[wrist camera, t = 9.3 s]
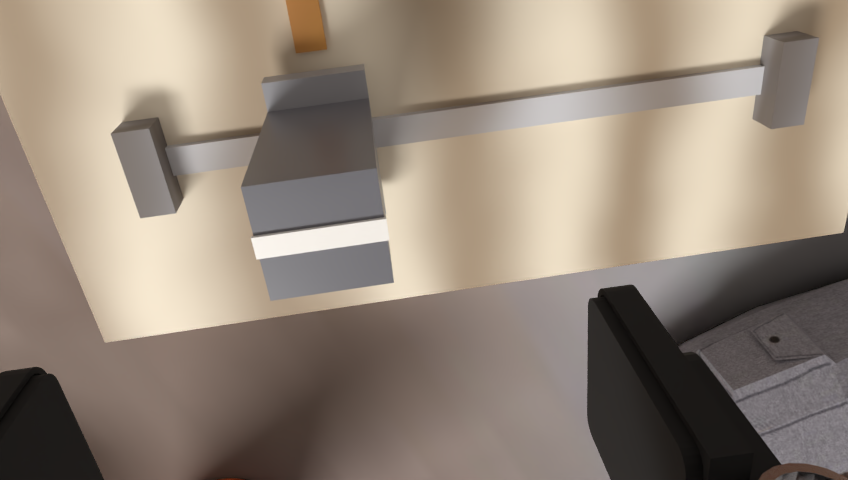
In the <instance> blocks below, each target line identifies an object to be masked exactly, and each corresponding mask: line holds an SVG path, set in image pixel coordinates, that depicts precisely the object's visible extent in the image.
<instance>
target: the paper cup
mask: <svg viewBox="0 0 848 480" xmlns="http://www.w3.org/2000/svg"><path fill="white" fill-rule="evenodd" d="M217 480H244V479H236V478H226V479H217Z"/></svg>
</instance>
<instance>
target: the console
mask: <svg viewBox="0 0 848 480" xmlns="http://www.w3.org/2000/svg"><path fill="white" fill-rule="evenodd" d="M360 64H364V68H365V75H366V81H367V88H368V95H369V101H370V108H371V115H372V121H373V128H374V135H375V141H376V148H377V155H378V161H379V168H380V175H381V181H382V188H383V195H384V201H385V209H386V219H387V226H388V233H389V246H390V254H391V262H392V270H393V278H394V283H389V284H382V285H375V286H369V287H362V288H355V289H348V290H342V291H335V292H328V293H321V294H315V295H308V296H301V297H294V298H287V299H281V300H274V301H270V297H269V293H268V290H267V286H266V282H265V278H264V274H263V271H262V267H261V263H260V259H257V260H256V256H255V252H254V248H253V244H252V241H251V236H253V232H252V229H251V225H250V221H249V217H248V213H247V210H246V206H245V202H244V198H243V194H242V191H241V185H242V182H243V179H244V176H245V174H246V171H247V168H248V165H249V163H250V160H251V157H252V154H253V151H254V149H255V146H256V143H257V140H258V137H259V135H260V132H261V129H262V126H263V123H264V121H265V118H266V115H267V112H268V111H267V107H266V103H265V98H264V94H263V89H262V85H261V83H262V81H263V78H264V77H270V76H277V75H285V74H292V73H300V72H307V71H315V70H322V69H330V68H337V67H345V66H352V65H360ZM0 95H1V97H2V100H3V102H4V104H5V107H6V109H7V112H8V114H9V116H10V119H11V121H12V123H13V126H14V128H15V130H16V133H17V135H18V138H19V140H20V142H21V145H22V147H23V149H24V152H25V154H26V157H27V159H28V161H29V164H30V166H31V168H32V171H33V173H34V175H35V178H36V180H37V183H38V185H39V187H40V190H41V192H42V194H43V197H44V199H45V202H46V204H47V206H48V209H49V211H50V213H51V216H52V218H53V221H54V223H55V225H56V228H57V230H58V232H59V235H60V237H61V239H62V242H63V244H64V247H65V249H66V251H67V254H68V256H69V258H70V261H71V263H72V266H73V268H74V270H75V273H76V275H77V277H78V280H79V282H80V284H81V287H82V289H83V292H84V294H85V296H86V299H87V301H88V303H89V306H90V308H91V311H92V313H93V315H94V318H95V320H96V322H97V325H98V327H99V330H100V332H101V334H102V337H103V339H104V341H105V343H106V342H112V341H119V340H126V339H133V338H139V337H146V336H153V335H159V334H166V333H173V332H180V331H186V330H193V329H200V328H206V327H213V326H220V325H227V324H233V323H240V322H247V321H253V320H260V319H267V318H274V317H280V316H287V315H294V314H301V313H307V312H314V311H321V310H327V309H334V308H341V307H348V306H354V305H361V304H368V303H374V302H381V301H388V300H395V299H401V298H408V297H415V296H421V295H428V294H435V293H442V292H448V291H455V290H462V289H469V288H475V287H482V286H489V285H495V284H502V283H509V282H516V281H522V280H529V279H536V278H542V277H549V276H556V275H563V274H569V273H576V272H583V271H589V270H596V269H603V268H610V267H616V266H623V265H630V264H637V263H643V262H650V261H657V260H663V259H670V258H677V257H684V256H690V255H697V254H704V253H710V252H717V251H724V250H731V249H737V248H744V247H751V246H757V245H764V244H771V243H778V242H784V241H791V240H798V239H805V238H811V237H818V236H825V235H831V234H838V233H843V232H844V228H845V223H846V219H847V215H848V0H0Z"/></svg>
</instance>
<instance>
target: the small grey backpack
mask: <svg viewBox="0 0 848 480" xmlns="http://www.w3.org/2000/svg"><path fill="white" fill-rule="evenodd" d="M678 347H679V349H680V350H681V351H682V353H685V352H694V353H697V354H698V355H699V356H700V357H701V358H702V359H703V361H704V362H705V363H706V365H707V366H708V367H709V369H710V370H711V371H712V373H713V374H714V375H715V377H716V378H717V379H718V381H719V382H720V383H721V385H722V386H723V387H724V389H725V390H726V391H727V393H728V394H729V395H730V397H731V398H732V399H733V401H734V402H735V403H736V405H737V406H738V407H739V409H740V410H741V411H742V413H743V414H744V415H745V417H746V418H747V419H748V421H749V422H750V423H751V425H752V426H753V427H754V429H755V430H756V431H757V433H758V434H759V435H760V437H761V438H762V439H763V440H764V442H765V443H766V444H767V446H768V447H769V448H770V450H771V451H772V452H773V454H774V455H775V456H776V458H777V459H778V460H779V462H780V463H781V464H782V465H783V464H787V463H804V464H811V465H815V466H819V467H824V468H827V469H829V470H832V471H834V472H836V473H838V474H841V475H843V476H845V477H847V478H848V279H846V280H843V281H839V282H836V283H833V284H830V285H827V286H823V287H820V288H817V289H814V290H810V291H807V292H804V293H801V294H798V295H794V296H791V297H788V298H785V299H781V300H778V301H775V302H772V303H769V304H765V305H762V306H759V307H756V308H754V309H752V310H749V311H747V312H745V313H743V314H741V315H739V316H737V317H735V318H733V319H731V320H729V321H727V322H725V323H723V324H721V325H719V326H717V327H715V328H713V329H711V330H708V331H706V332H704V333H702V334H700V335H698V336H696V337H694V338H692V339H690V340H688V341H686V342H684V343H682V344H680V345H679V346H678Z"/></svg>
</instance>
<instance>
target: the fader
mask: <svg viewBox="0 0 848 480" xmlns="http://www.w3.org/2000/svg"><path fill="white" fill-rule="evenodd" d="M261 85H262V89H263V94H264V98H265V103H266V107H267V111H268V112H267V115H266V118H265V121H264V123H263V126H262V129H261V132H260V135H259V137H258V140H257V143H256V146H255V149H254V151H253V154H252V157H251V160H250V163H249V165H248V168H247V171H246V174H245V176H244V179H243V182H242V185H241V191H242V194H243V198H244V202H245V206H246V210H247V213H248V217H249V221H250V225H251V229H252V232H253V236H251V241H252V244H253V248H254V252H255V256H256V260H257V259H260V263H261V267H262V271H263V274H264V278H265V282H266V286H267V290H268V293H269V297H270V301H274V300H281V299H287V298H294V297H301V296H308V295H315V294H321V293H328V292H335V291H342V290H348V289H355V288H362V287H369V286H375V285H382V284H389V283H394V278H393V270H392V262H391V254H390V246H389V233H388V226H387V219H386V209H385V201H384V195H383V188H382V181H381V175H380V168H379V161H378V155H377V148H376V141H375V135H374V128H373V121H372V115H371V108H370V101H369V95H368V88H367V81H366V75H365V68H364V64H360V65H352V66H345V67H337V68H330V69H322V70H315V71H307V72H300V73H292V74H285V75H277V76H270V77H264V78H263V81H262V83H261Z"/></svg>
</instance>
